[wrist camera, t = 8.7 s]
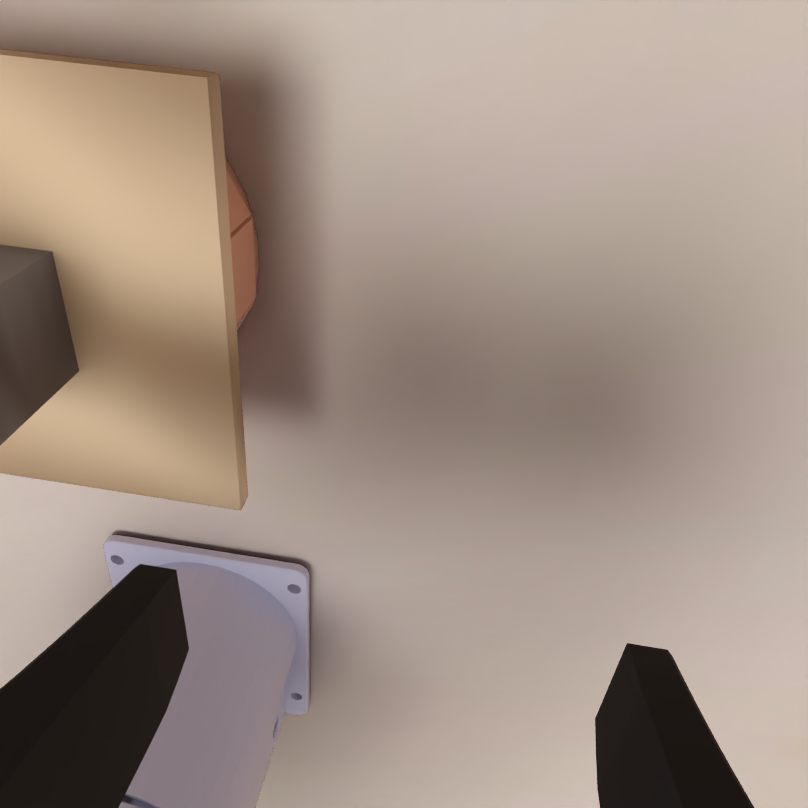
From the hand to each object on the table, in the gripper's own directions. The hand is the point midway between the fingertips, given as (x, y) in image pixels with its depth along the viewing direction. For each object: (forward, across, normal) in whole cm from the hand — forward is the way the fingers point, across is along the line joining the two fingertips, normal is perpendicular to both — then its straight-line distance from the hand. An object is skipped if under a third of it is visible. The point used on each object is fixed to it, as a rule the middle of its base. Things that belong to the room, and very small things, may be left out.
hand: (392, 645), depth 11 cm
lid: (+6, +10, -2) cm, 12 cm away
